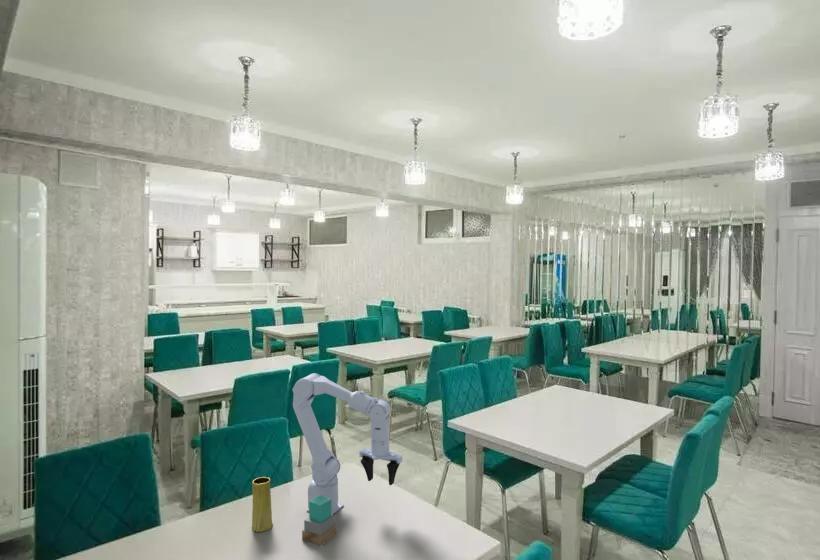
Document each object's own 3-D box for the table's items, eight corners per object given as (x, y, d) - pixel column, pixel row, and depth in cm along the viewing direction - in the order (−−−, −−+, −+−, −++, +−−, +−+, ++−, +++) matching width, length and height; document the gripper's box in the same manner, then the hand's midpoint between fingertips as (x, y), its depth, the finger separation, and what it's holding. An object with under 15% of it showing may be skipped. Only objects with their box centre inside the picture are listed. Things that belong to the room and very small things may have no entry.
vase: (247, 527, 142) (247, 480, 142) (266, 519, 146) (265, 474, 146) (258, 534, 138) (257, 486, 138) (276, 526, 142) (275, 480, 142)
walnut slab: (302, 541, 135) (302, 530, 135) (317, 529, 141) (317, 519, 141) (321, 547, 132) (321, 536, 132) (336, 534, 138) (336, 524, 138)
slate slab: (304, 530, 135) (304, 520, 135) (317, 520, 140) (317, 510, 140) (320, 535, 132) (320, 525, 132) (333, 525, 137) (333, 515, 137)
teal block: (309, 518, 136) (309, 501, 136) (320, 511, 140) (320, 495, 140) (320, 522, 133) (320, 505, 133) (331, 515, 137) (331, 499, 137)
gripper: (354, 440, 148) (354, 483, 148) (394, 446, 142) (395, 491, 142) (365, 433, 154) (366, 474, 154) (404, 439, 148) (405, 481, 148)
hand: (380, 481), depth 149 cm, fingers open, 7 cm apart
